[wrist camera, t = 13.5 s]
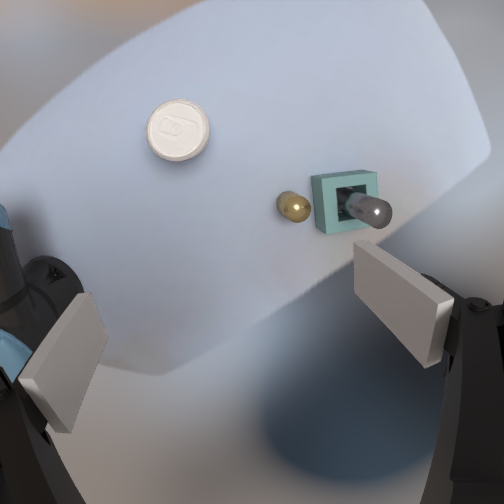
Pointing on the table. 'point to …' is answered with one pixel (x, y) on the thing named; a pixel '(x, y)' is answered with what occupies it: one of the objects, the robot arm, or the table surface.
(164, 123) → the beverage can
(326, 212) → the hole block
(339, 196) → the long pin
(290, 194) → the short pin
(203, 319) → the table surface
